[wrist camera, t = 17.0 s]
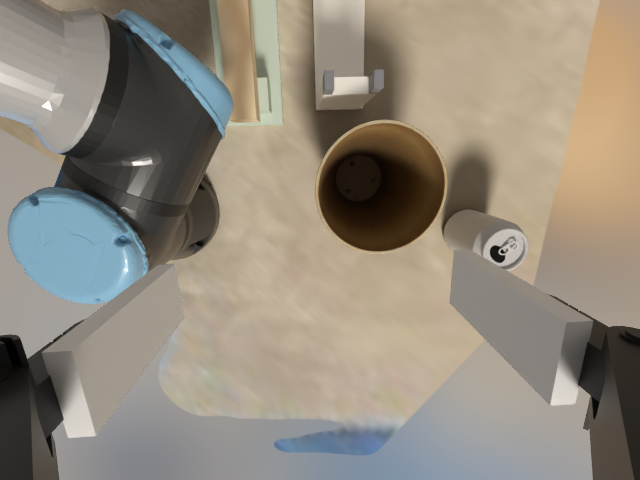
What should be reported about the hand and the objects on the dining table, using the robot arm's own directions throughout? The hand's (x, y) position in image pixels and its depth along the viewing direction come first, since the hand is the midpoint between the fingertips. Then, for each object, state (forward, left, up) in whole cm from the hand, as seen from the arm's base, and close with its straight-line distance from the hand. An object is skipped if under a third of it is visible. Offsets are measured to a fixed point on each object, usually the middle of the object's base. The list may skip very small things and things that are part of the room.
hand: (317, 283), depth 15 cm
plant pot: (+8, +2, -37) cm, 38 cm away
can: (+26, -7, -37) cm, 46 cm away
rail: (-8, +24, -32) cm, 40 cm away
